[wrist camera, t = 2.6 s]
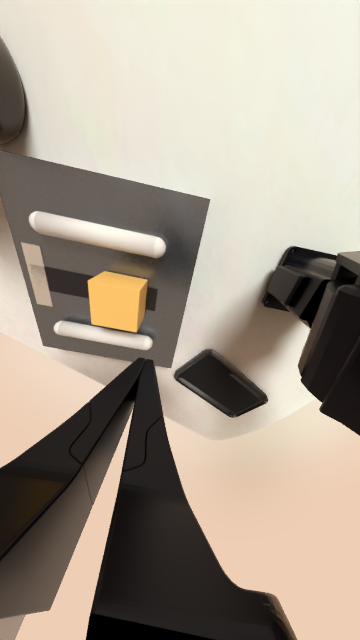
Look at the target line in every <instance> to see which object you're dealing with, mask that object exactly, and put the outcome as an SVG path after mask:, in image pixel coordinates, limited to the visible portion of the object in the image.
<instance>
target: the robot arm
mask: <svg viewBox="0 0 360 640" xmlns="http://www.w3.org/2000/svg"><path fill="white" fill-rule="evenodd" d="M293 249H294V253H293V254H291V251H292V250H293ZM267 301H269V302H268V303H266V302H267ZM262 304H263V305H264V306H265V307H269V308H274V309H279V310H284V311H289V312H291V313H292V314H294V315H295V316H296V317H297V318H298V319H299V320H300V321H302V322H303V323H304V324H305V325H306V326H307V327H309V328H310V329H311V330H310V332H309V335H308V338H307V341H306V343H305V346H304V348H303V350H302V354H301V357H300V360H299V364H298V368H299V371H300V375H301V377H302V378H301V382H302V383H303V385H304V386H305V387H306V388H307V390H308V391H309V392H311V393H312V394H313V395H314V396H315V397H316V398H317V399H318V400H319V401H321V402H322V405H321V407H320V409H319V410H320V412H322V413H323V414H325V415H327V416H329V417H331V418H333V419H335V420H337V421H338V422H340V423H342V424H343V425H345V426H346V427H348V428H350V429H351V430H352V431H354V432H355V433H357V434H358V435H360V251H357V252H343V253H338V255H337V256H336V255H332V254H327V253H323V252H318V251H314V250H309V249H305V248H300V247H296V246H291V247H289V248H288V249H287V251H286V253H285V255H284V257H283V259H282V261H281V263H280V265H279V266H278V267H277V268H276V270H275V273H274V275H273V277H272V279H271V281H270V283H269V285H268V287H267V292H266V294H265V296H264V298H263V301H262ZM133 407H134V408H133ZM132 409H133V413H132V419H131V424H130V429H129V435H128V440H127V445H126V451H125V457H124V461H123V467H122V473H121V478H120V483H119V488H118V493H117V498H116V502H115V506H114V511H113V515H112V519H111V524H110V528H109V533H108V537H107V542H106V546H105V551H104V555H103V560H102V564H101V569H100V573H99V578H98V582H97V586H96V591H95V595H94V600H93V604H92V609H91V613H90V617H89V625H88V630H87V636H86V640H297V638H296V636H295V634H294V631H293V630H292V628H291V626H290V623H289V621H288V619H287V617H286V615H285V613H284V611H283V609H282V607H281V604H280V602H279V600H278V599H277V597H276V596H274V595H272V594H270V593H265V592H259V591H253V590H246V589H243V588H240V587H238V586H237V585H236V584H234V583H233V582H232V581H231V580H230V579H229V578H228V576H227V575H226V574H225V572H224V571H223V570H222V567H221V566H220V564H219V562H218V560H217V558H216V556H215V554H214V552H213V550H212V548H211V547H210V544H209V543H208V541H207V539H206V537H205V535H204V533H203V531H202V529H201V527H200V525H199V523H198V521H197V519H196V517H195V515H194V514H193V511H192V509H191V508H190V505H189V503H188V501H187V499H186V496H185V493H184V490H183V488H182V485H181V481H180V478H179V475H178V472H177V468H176V465H175V462H174V458H173V455H172V452H171V448H170V445H169V441H168V437H167V432H166V428H165V423H164V417H163V411H162V405H161V400H160V394H159V388H158V382H157V376H156V370H155V365H154V360H151V359H145V358H141V357H139V358H137V359H136V360H135V361H134V362H133V363H132V364H131V365H129V366H128V367H127V368H126V369H125V370H124V371H123V372H122V373H120V374H119V375H118V376H117V377H116V378H115V379H114V380H113V381H111V382H110V383H109V384H108V385H107V386H106V387H105V388H104V389H102V390H101V391H100V392H99V393H98V394H97V395H96V396H94V397H93V398H92V399H91V400H90V401H89V402H88V403H87V404H85V405H84V406H83V407H82V408H81V409H80V410H79V411H77V412H76V413H75V414H74V415H73V416H71V417H70V418H69V419H68V420H66V421H65V422H64V423H63V424H61V425H60V426H59V427H58V428H56V429H55V430H53V431H52V432H51V433H49V434H48V435H47V436H45V437H44V438H43V439H41V440H40V441H39V442H37V443H36V444H35V445H33V446H32V447H30V448H29V449H28V450H26V451H25V452H24V453H22V454H21V455H20V456H19V457H17V458H16V459H14V460H12V461H11V462H10V463H8V464H6V465H5V466H3V467H1V468H0V640H15V638H16V636H17V633H18V631H19V629H20V626H21V624H22V622H23V619H24V617H25V615H26V614H31V613H37V612H43V611H49V610H50V608H51V606H52V604H53V601H54V599H55V596H56V594H57V592H58V589H59V587H60V584H61V581H62V579H63V577H64V575H65V572H66V570H67V567H68V565H69V562H70V560H71V558H72V555H73V552H74V550H75V548H76V545H77V543H78V540H79V538H80V536H81V533H82V531H83V528H84V526H85V523H86V521H87V519H88V516H89V514H90V511H91V509H92V506H93V504H94V502H95V499H96V497H97V494H98V492H99V489H100V487H101V484H102V482H103V479H104V477H105V475H106V472H107V470H108V467H109V465H110V462H111V460H112V458H113V455H114V453H115V451H116V448H117V446H118V443H119V441H120V438H121V436H122V433H123V431H124V429H125V426H126V423H127V421H128V419H129V416H130V414H131V411H132Z"/></svg>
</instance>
